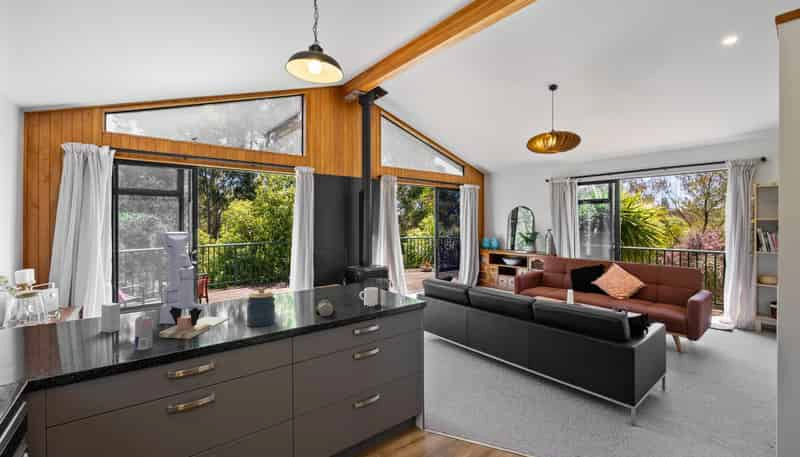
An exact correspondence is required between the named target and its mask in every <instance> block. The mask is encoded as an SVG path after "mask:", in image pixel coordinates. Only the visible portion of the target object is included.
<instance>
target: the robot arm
mask: <svg viewBox="0 0 800 457" xmlns="http://www.w3.org/2000/svg"><path fill="white" fill-rule="evenodd" d="M189 238H190V235H189V232H187V231H164V232H163V234H162V247H163V249H164V250H165V251H166V250H167V252H168V267H169V270H168V271H169V284H167V285H166V286H164V287H163V290H162V303H163V304H162V305H161V307H160V312H159V315H160V318H159V319H160V321H159V322H158V324H165V325H166V324H167V325H168V324H169V325H174V326H176V325H177V318H180V317H182V316H185V310H187V309H188V310H189V314H190V315H189V316H191V324H192V326H195V325H196V324H197V320H199V317H200V314H202V313H201V312H202V311H203V309H204V304H203V303H202V304H201V303H195V302H194V300H195V299H194V296H195V295H194V294H195V293H194V286H195V285H194V282H195V281H194V280H196V268H195V266H194V265H192V262H191V258H190V256H189V254H187V251H186V247H187V246H188V244H189Z"/></svg>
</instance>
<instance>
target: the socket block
mask: <svg viewBox="0 0 800 457" xmlns="http://www.w3.org/2000/svg"><path fill="white" fill-rule="evenodd" d="M211 327H212V326H211V324H196V325H195V326H194V328H192V329H190V330H177V325H174V326H171V327H169V328H167V329H164V330H162V331H160V332H159V333H158V334H159V338H168V339H188V340H189V339H190V340H191V339H192V338H194V337H196V336H198V335H200V334H203V333H205V332H206V331H208V330H210V329H211Z"/></svg>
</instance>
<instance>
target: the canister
mask: <svg viewBox="0 0 800 457" xmlns="http://www.w3.org/2000/svg"><path fill="white" fill-rule="evenodd" d="M248 297H249V298H248V299H246V302H247V306H246V325H247V327H250V328H262V327H269V326H272V325H274V324H275V322H276V304H275V301H276V297H275V296H274V292H272V291H270V290H265V288H264V287H259V288H258V289H257V290H255V291H252V292H251V293H249V294H248Z"/></svg>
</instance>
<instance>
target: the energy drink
mask: <svg viewBox="0 0 800 457" xmlns="http://www.w3.org/2000/svg"><path fill="white" fill-rule="evenodd" d="M152 317H153V316H151V315H143V316H139V317H136V318H135V321H134V330H135V331H134V348H135V350H136V351H146V350H149V349H152V348H153V318H152Z"/></svg>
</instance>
